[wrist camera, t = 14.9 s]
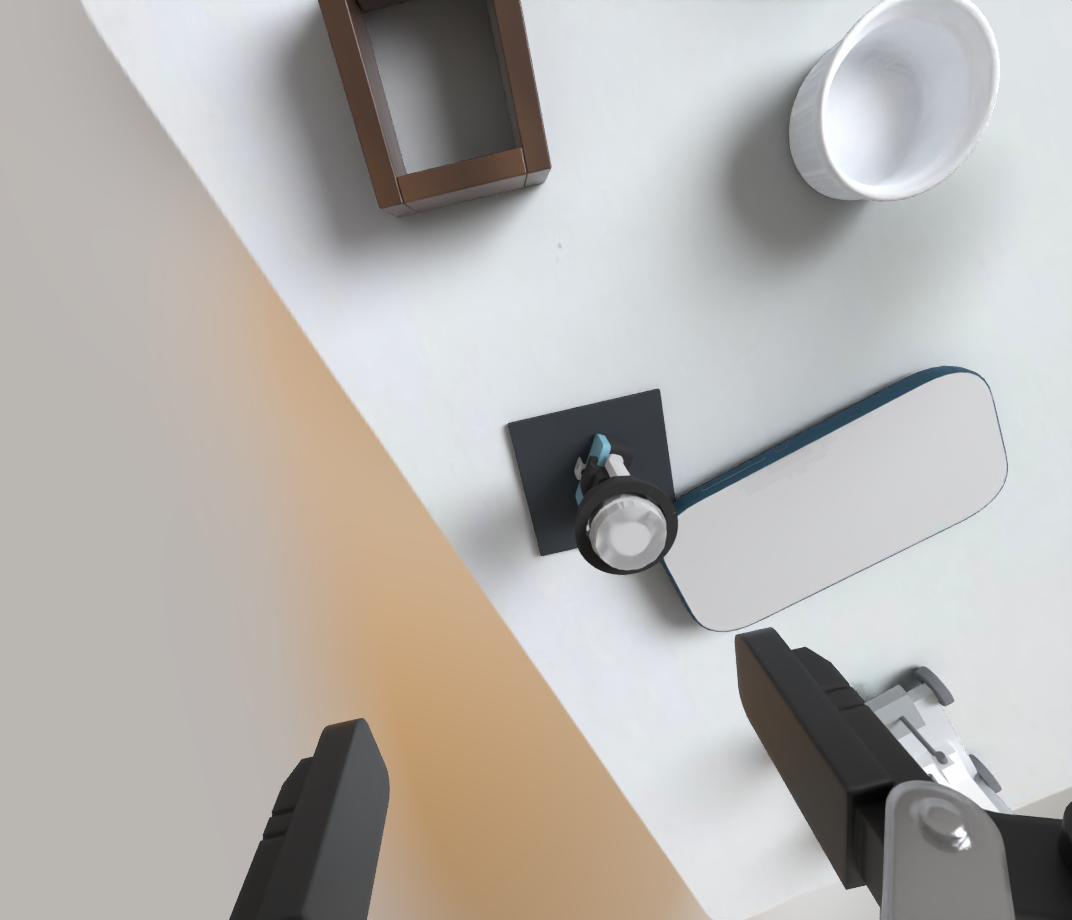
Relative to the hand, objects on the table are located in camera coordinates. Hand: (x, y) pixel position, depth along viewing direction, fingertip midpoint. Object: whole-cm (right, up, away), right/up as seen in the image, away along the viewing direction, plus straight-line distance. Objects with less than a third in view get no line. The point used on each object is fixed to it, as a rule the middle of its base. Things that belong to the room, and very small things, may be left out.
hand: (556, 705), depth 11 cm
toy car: (+30, -19, +35) cm, 50 cm away
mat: (+4, +4, +25) cm, 25 cm away
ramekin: (+17, +24, +19) cm, 35 cm away
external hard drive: (+20, +3, +26) cm, 33 cm away
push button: (+3, +4, +25) cm, 25 cm away
